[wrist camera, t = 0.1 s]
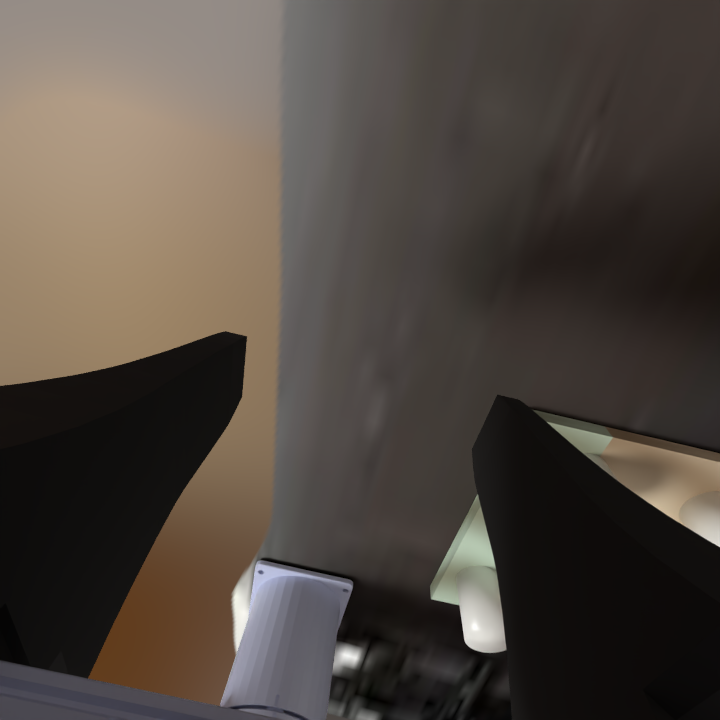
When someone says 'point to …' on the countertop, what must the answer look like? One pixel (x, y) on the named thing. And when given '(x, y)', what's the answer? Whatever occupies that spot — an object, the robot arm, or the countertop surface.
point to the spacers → (480, 584)
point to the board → (627, 462)
